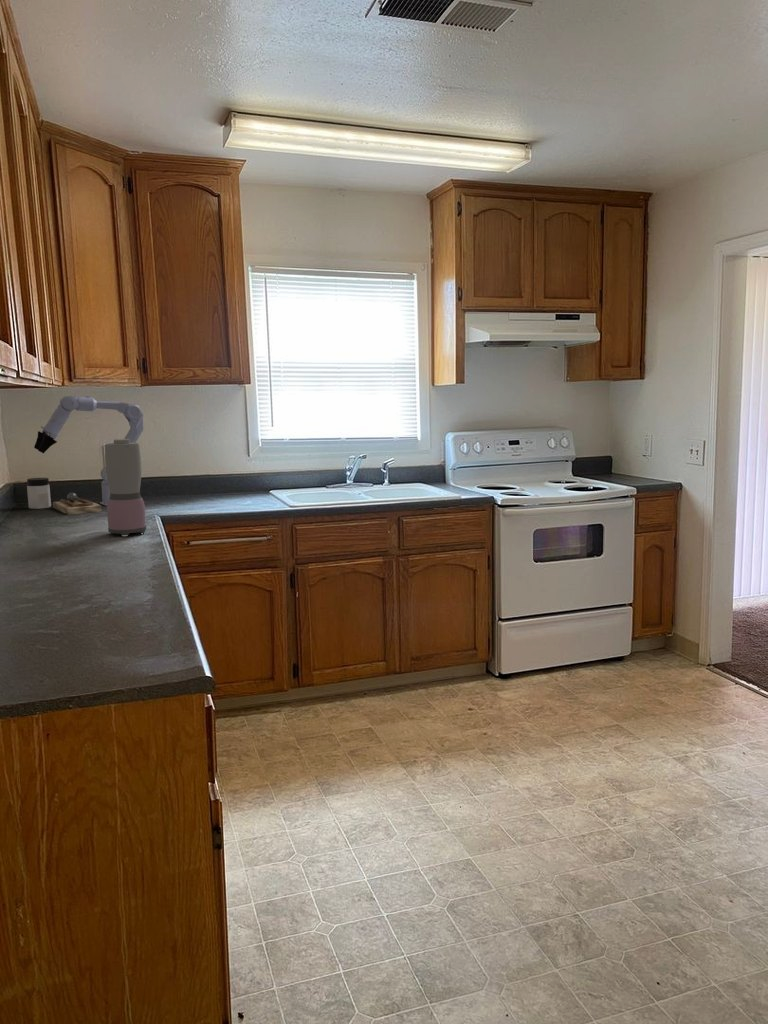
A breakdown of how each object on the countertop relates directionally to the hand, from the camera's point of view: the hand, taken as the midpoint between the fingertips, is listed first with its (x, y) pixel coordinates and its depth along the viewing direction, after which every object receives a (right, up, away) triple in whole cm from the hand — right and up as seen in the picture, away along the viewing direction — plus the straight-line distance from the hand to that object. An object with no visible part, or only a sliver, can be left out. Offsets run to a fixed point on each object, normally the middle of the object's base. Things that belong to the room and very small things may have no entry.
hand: (38, 450), depth 304 cm
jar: (-3, -23, +8) cm, 25 cm away
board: (+15, -24, +2) cm, 28 cm away
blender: (+52, -32, -48) cm, 78 cm away
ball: (+11, -19, +6) cm, 23 cm away
